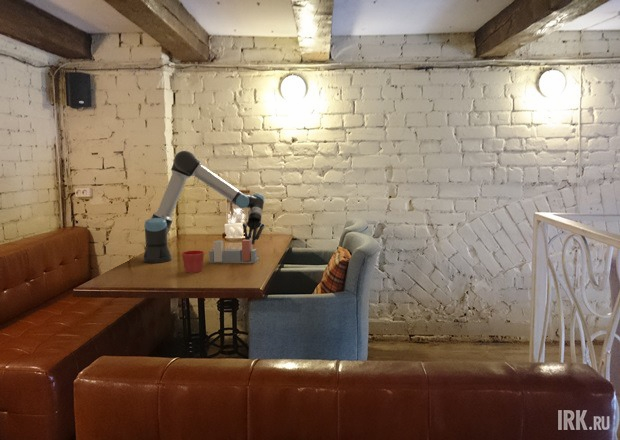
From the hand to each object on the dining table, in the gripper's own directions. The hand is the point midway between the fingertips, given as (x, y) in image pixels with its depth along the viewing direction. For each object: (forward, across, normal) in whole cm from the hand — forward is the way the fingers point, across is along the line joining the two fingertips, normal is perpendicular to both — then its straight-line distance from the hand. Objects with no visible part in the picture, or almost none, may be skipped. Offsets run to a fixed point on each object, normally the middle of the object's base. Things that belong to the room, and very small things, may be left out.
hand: (249, 248), depth 284 cm
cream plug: (+12, -15, -4) cm, 20 cm away
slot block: (+9, -7, 0) cm, 11 cm away
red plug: (+10, 0, -2) cm, 11 cm away
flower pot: (+28, -21, -20) cm, 40 cm away
